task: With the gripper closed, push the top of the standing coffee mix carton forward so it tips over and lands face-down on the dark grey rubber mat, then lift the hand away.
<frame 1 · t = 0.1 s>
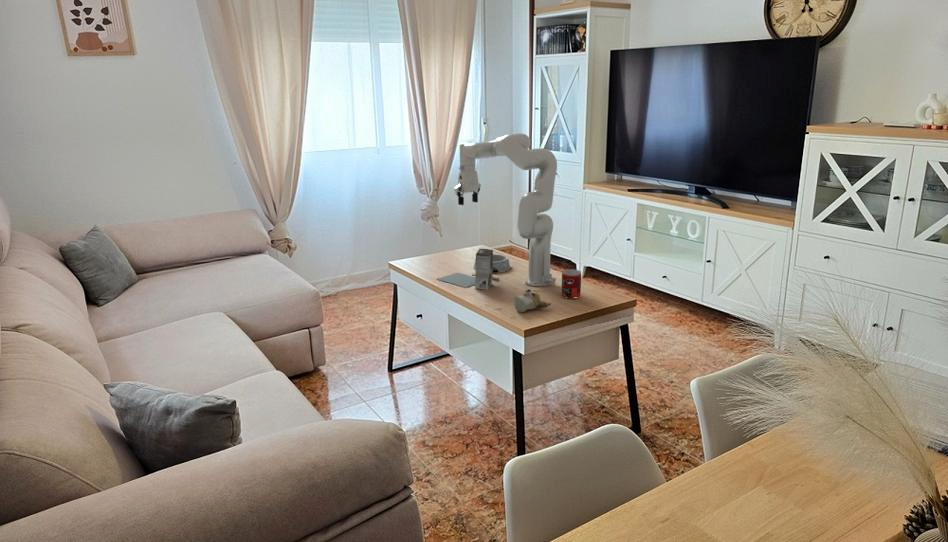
hand: (468, 203, 303), 31 cm above the table, fingers open, 9 cm apart
dog bowl: (491, 268, 307), on the table
ceramic sculpture: (529, 309, 249), on the table
turner: (485, 277, 291), on the table
mat: (461, 280, 287), on the table
coffee box: (483, 286, 278), on the table, touching mat
canned food: (570, 297, 263), on the table
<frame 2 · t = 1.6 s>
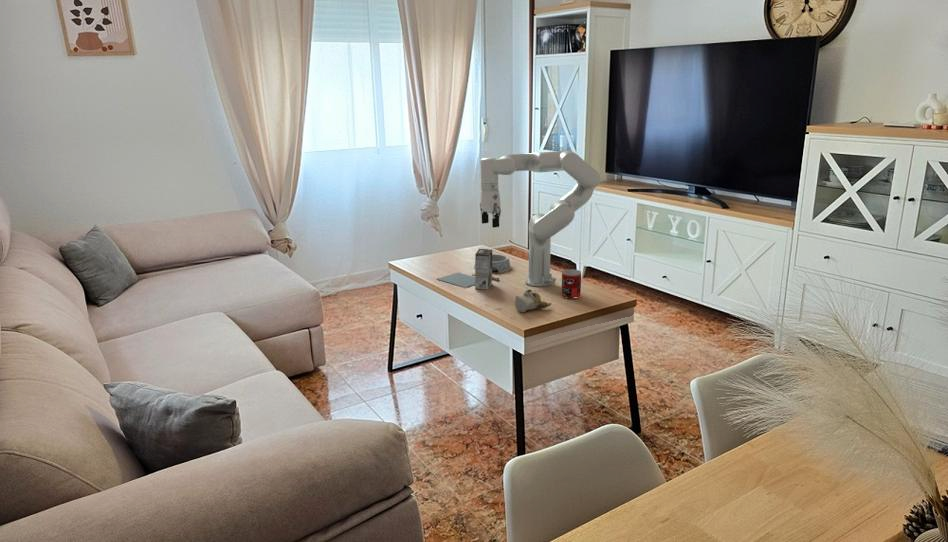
hand: (490, 225, 274), 27 cm above the table, fingers open, 9 cm apart
nothing on the table moved.
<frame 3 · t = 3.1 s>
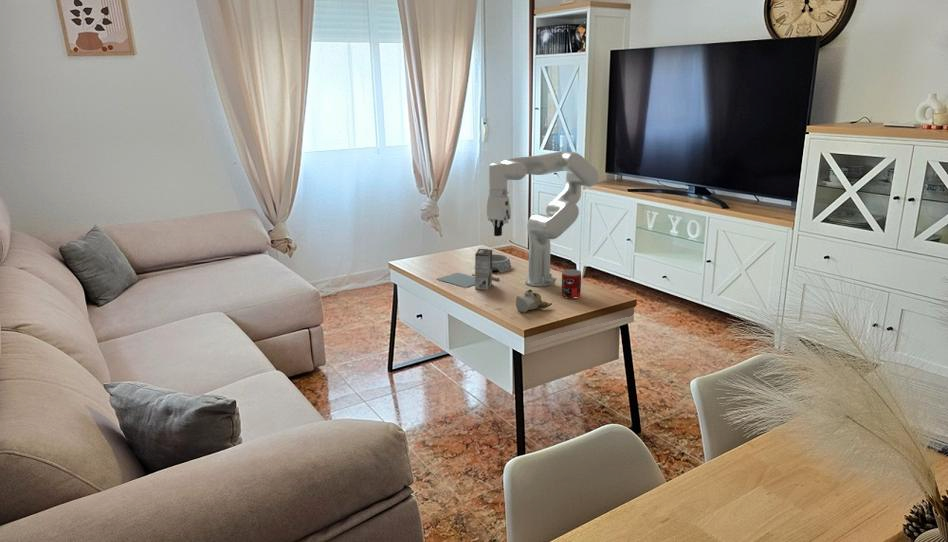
hand: (498, 235, 265), 25 cm above the table, fingers closed
nothing on the table moved.
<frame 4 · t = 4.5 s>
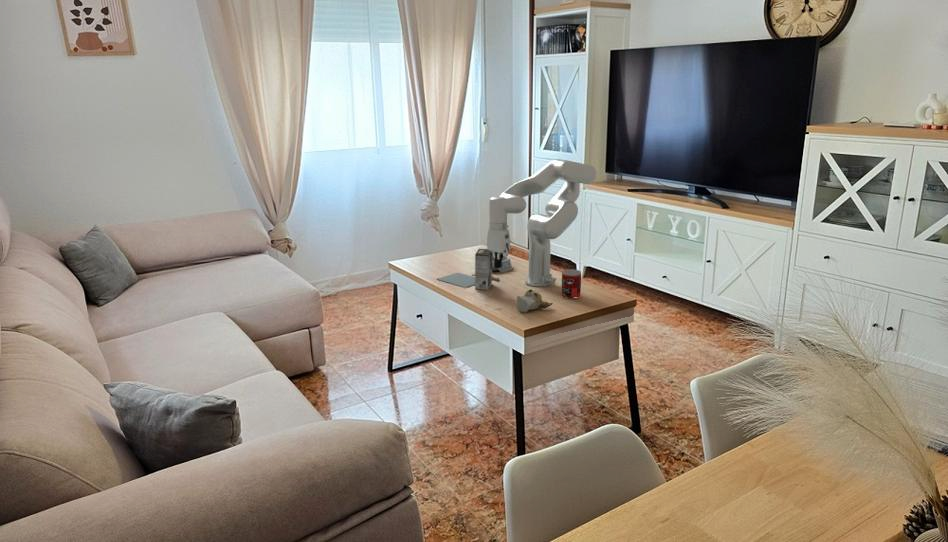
hand: (498, 267, 269), 11 cm above the table, fingers closed
nothing on the table moved.
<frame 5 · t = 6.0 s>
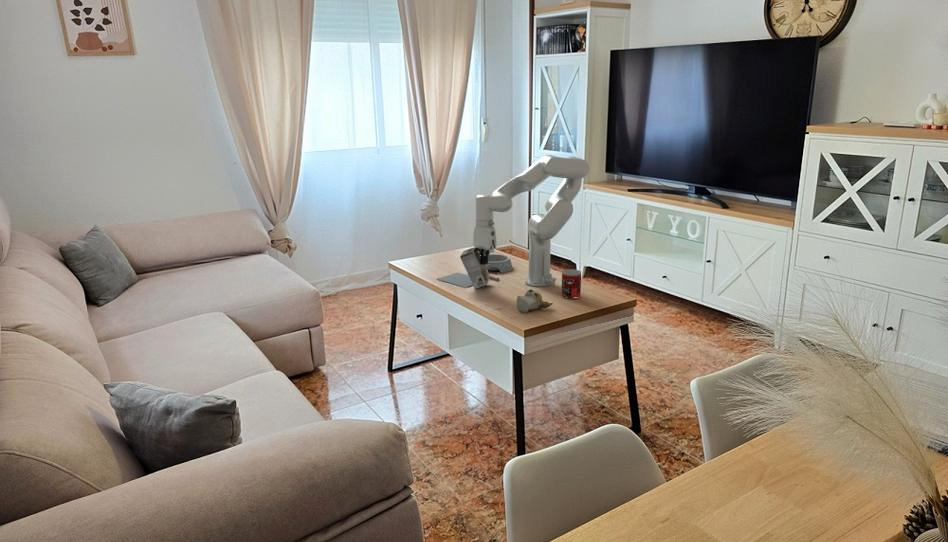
hand: (484, 263, 274), 11 cm above the table, fingers closed
coffee box: (482, 283, 277), point 1 cm above the table, touching mat
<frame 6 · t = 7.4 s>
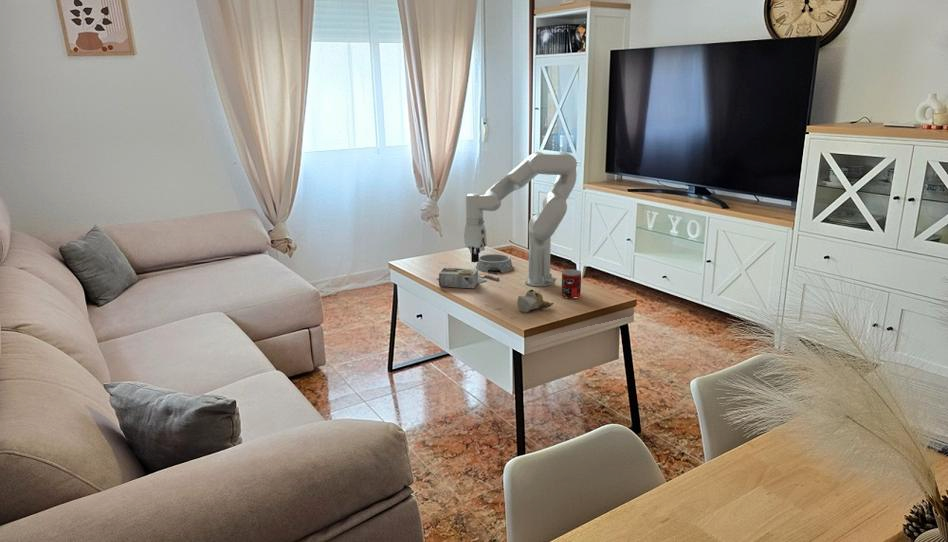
hand: (475, 261, 278), 11 cm above the table, fingers closed
coffee box: (476, 278, 277), point 4 cm above the table, touching mat
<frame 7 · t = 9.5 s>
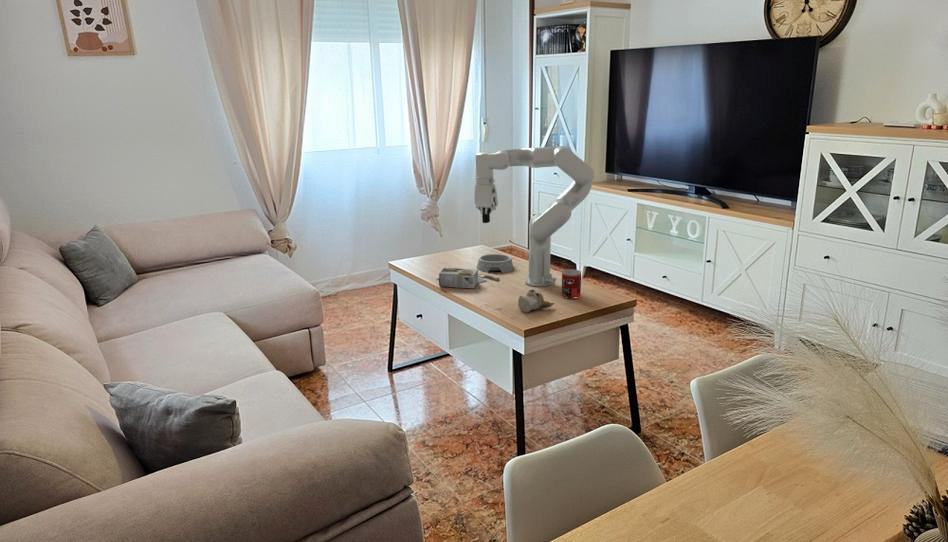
hand: (486, 222, 276), 28 cm above the table, fingers closed
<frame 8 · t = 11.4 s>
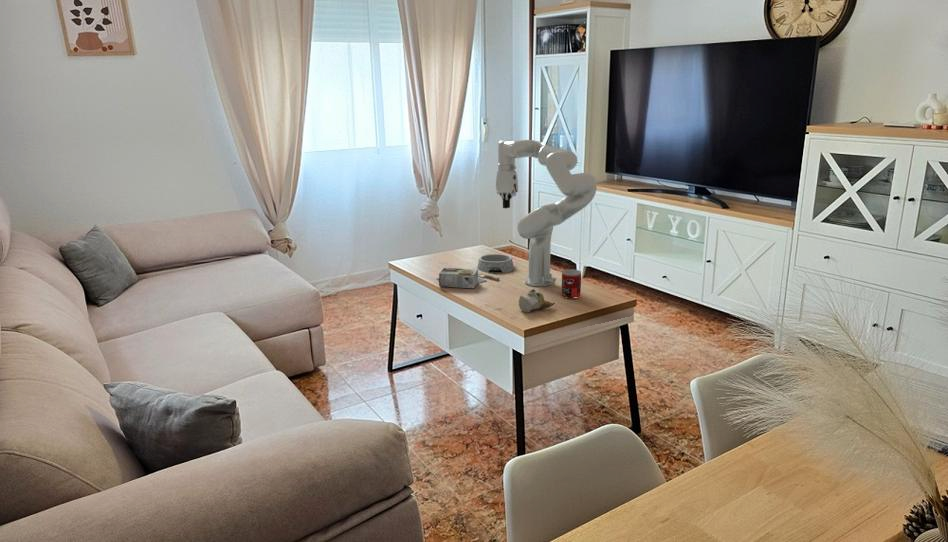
hand: (506, 207, 286), 32 cm above the table, fingers closed
at the end: coffee box tilted 90°; coffee box inside the target area (10.1 cm from its centre), point 3.5 cm above the table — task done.
